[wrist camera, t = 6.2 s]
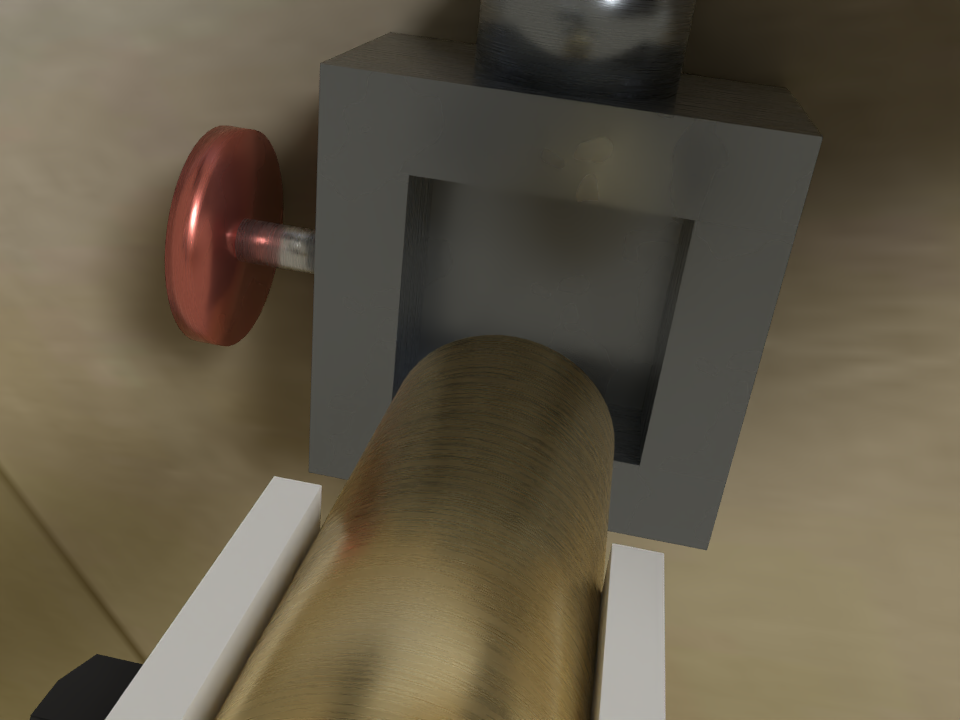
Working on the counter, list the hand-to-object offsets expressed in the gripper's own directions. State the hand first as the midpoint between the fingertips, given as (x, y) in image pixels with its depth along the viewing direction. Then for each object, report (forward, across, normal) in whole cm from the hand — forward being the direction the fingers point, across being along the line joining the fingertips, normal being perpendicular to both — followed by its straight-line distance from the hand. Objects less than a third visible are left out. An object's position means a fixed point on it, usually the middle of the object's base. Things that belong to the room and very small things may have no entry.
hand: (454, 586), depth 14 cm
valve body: (+15, -2, 0) cm, 16 cm away
